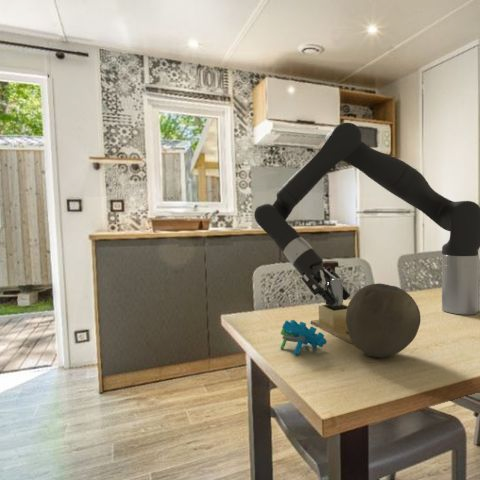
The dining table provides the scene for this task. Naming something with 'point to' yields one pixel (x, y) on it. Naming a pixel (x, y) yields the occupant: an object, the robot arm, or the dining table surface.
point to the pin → (336, 292)
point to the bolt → (330, 264)
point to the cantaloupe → (382, 320)
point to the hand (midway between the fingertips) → (341, 300)
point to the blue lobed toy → (301, 335)
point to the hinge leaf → (333, 321)
